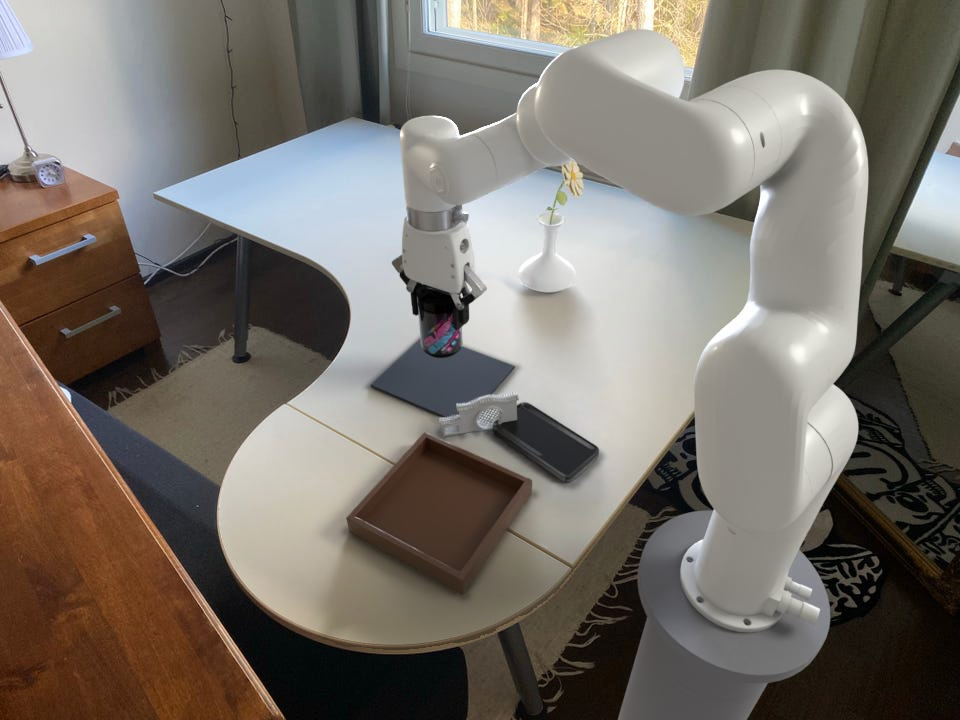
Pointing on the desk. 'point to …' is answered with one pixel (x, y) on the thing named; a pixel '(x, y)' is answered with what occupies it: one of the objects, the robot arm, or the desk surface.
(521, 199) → the desk surface
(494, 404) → the garden wall model
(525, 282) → the flower in vase
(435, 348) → the supplement container
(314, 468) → the desk surface
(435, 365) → the mat
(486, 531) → the tray
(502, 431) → the phone
